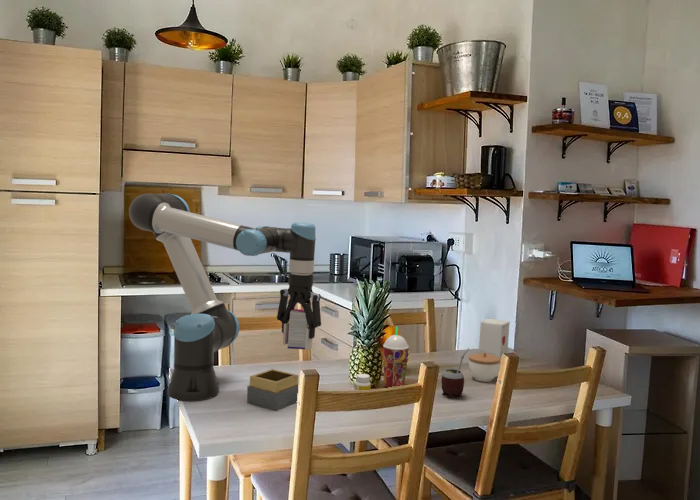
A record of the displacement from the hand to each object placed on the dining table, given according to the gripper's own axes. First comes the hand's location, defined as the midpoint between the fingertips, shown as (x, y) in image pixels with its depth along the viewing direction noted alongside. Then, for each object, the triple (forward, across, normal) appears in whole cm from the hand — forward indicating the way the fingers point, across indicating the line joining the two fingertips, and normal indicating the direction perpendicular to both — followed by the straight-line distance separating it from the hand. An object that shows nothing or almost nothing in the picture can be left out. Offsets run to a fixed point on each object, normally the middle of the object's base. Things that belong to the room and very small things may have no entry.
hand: (297, 345), depth 196 cm
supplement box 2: (+14, -39, -80) cm, 90 cm away
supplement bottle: (+14, -22, -3) cm, 27 cm away
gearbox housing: (+15, 0, +12) cm, 19 cm away
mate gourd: (+14, -42, -26) cm, 52 cm away
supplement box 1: (0, 0, 0) cm, 0 cm away
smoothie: (+14, -23, -23) cm, 36 cm away
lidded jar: (+14, -44, -50) cm, 68 cm away
